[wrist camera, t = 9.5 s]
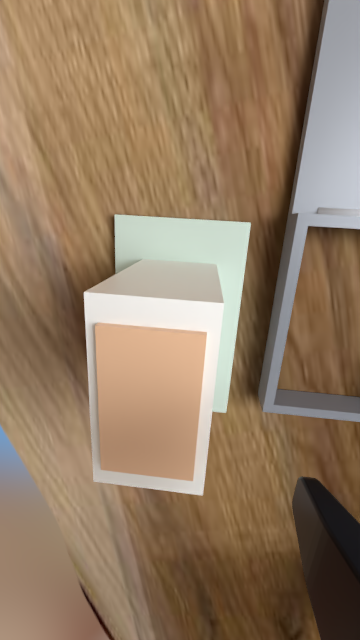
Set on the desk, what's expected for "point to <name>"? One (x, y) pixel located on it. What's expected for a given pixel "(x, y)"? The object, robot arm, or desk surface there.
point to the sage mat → (199, 247)
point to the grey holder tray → (320, 195)
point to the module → (153, 373)
